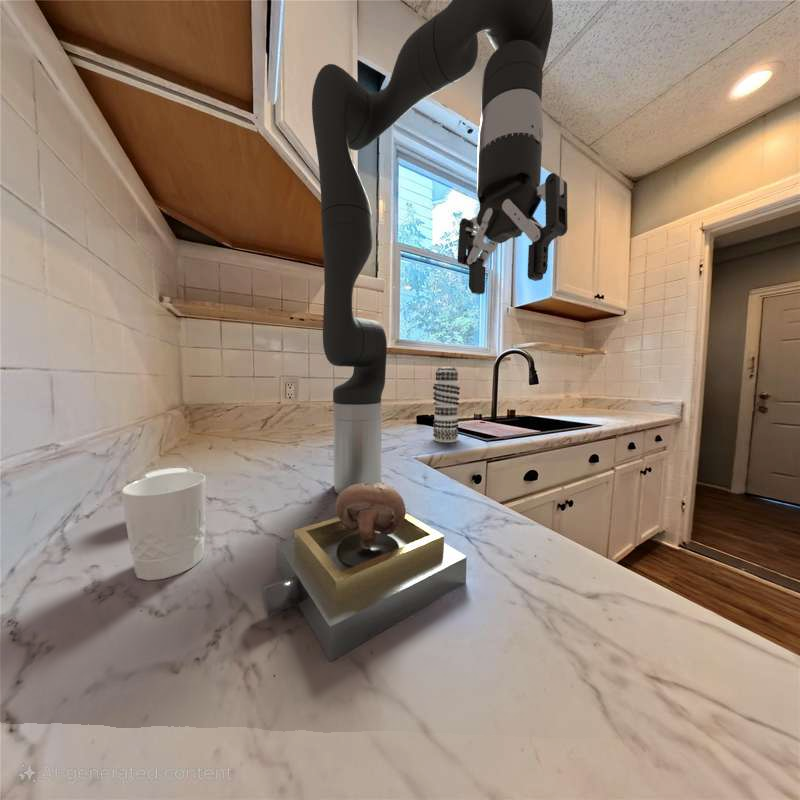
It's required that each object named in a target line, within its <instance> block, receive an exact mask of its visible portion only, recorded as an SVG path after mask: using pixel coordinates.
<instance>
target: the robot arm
mask: <svg viewBox="0 0 800 800" xmlns="http://www.w3.org/2000/svg"><path fill="white" fill-rule="evenodd" d="M553 23H554V9H553V0H451V2H450V3H449V4H448V5H447V6H446V7H445V8H444V9H443V10H441V11H440V12H437V14H435V15H434V16H433V17H432V18H430V19H429V20H427V21H426V22H425V23H424V24H422V25H421V26H420V27H418V28H417V29H416V30H414V31H413V33H411V34H410V35H409V37H408V38H407V39H406V40H405V42H404V43H403V45H402V47H401V49H400V51H399V53H398V55H397V57H396V61H395V63H394V66H393V70H392V73H391V76H390V78H389V82H388V84H387V85H386V87H384V88H383V89H382V90H380V91H378V92H373V93H369V91H368V90H367V89H366V88H365V87H364V86H363V85H362V84H361V83H360V82H359V81H357V80H356V79H355V77H353V76H352V75H350V74H349V72H347V71H346V70H345V69H344V68H342V67H340V66H339V65H337V64H335V63H334V64H333V63H327V64H325V65H323V66H322V68H320V70H319V71H318V73H317V76H316V78H315V80H314V84H313V89H312V94H311V95H312V96H311V115H312V117H311V118H312V124H313V133H314V138H315V139H314V140H315V147H316V152H317V153H316V154H317V155H316V156H317V160H318V161H317V162H318V173H319V185H320V186H319V187H320V211H321V212H320V218H321V219H320V221H321V239H322V248H323V251H322V252H323V273H324V274H323V275H324V281H323V282H324V285H323V286H324V292H323V295H324V296H323V312H322V313H323V316H322V344H323V350H324V355H325V358H326V359H327V361H328V362H329V363H330V364H331V365H333V366H335V367H349V368H351V367H352V368H353V372H352V375H351V377H349V379H348V380H347V381H345V382H343V383H341V384H339V385H337V386H335V387H334V388H333V391H332V410H333V411H332V414H333V415H332V416H333V420H332V421H333V423H332V424H333V442H332V443H333V487H334V492H335V493H336V494H338V495H339V494H340V493H341V492H342V491H343V490H345V489H346V488H348V487H349V486H351V485H355V484H360V483H382V396H383V395H382V394H383V392H384V389H385V384H386V372H387V371H386V370H387V369H386V368H387V355H388V354H387V351H388V349H387V348H388V344H387V343H388V341H387V337H386V332H385V329H384V327H383V326H382V324H381V323H380V322H379V321H377V320H374V319H370V318H363V317H357V316H354V315H353V314H354V313H353V312H354V311H353V293H354V287H355V284H356V281H357V279H358V277H359V275H360V273H362V272H361V271H362V270H363V269H364V267H365V265H366V263H367V262H368V259H369V257H370V255H371V252H372V249H373V218H372V217H373V215H372V208H371V204H370V201H369V198H368V194H367V192H366V190H365V187H364V185H363V182H362V180H361V178H360V175H359V173H358V171H357V168H356V166H355V163H354V161H353V159H352V154H351V152H350V150H353V151H359V150H363V149H364V148H366V147H368V146H369V145H370V144H372V143H373V142H374V141H375V140H376V139H377V138H379V137H380V136H381V135H382V134H383V133H385V132H386V131H388V129H390V128H391V127H392V126H393V125H394V124H395V123H396V122H397V121H398V120H400V119H401V118H402V117H403V116H404V115H405V114H407V112H409V111H410V110H411V109H412V108H414V107H415V106H417V105H418V104H419V103H421V102H423V101H424V100H425V99H427V98H428V97H430V96H432V95H434V94H435V93H438V92H439V91H441V90H443V89H445V88H447V87H448V86H450V85H452V84H454V83H455V82H457V81H459V80H461V79H462V78H464V77H466V76H467V75H468V74H469V73H470V72H471V71H472V70H473V68H474V67H475V64H476V62H477V59H478V52H479V40H478V38H479V37H478V34H480V33H481V32H484V33H485V34H486V37H487V38H488V39H489V42H490V43H491V45H492V47H493V49H494V52H493V53H492V55H491V56H490V57H489V58H488V61H487V63H486V66H485V68H484V70H483V75H482V82H481V95H480V96H481V98H480V99H481V102H480V103H481V104H480V105H481V106H480V125H479V130H478V131H479V132H478V138H477V139H478V141H477V145H478V146H477V174H476V175H477V177H476V196H477V198H478V202H479V209H478V212H477V215H476V216H475V217H473V218H471V219H467V218H465V217H463V218H462V219H461V220H460V222H459V230H458V231H459V232H458V233H459V234H458V247H457V248H458V249H457V264H460V265H464V266H468V288H469V290H470V293H472V294H475V295H483V294H485V291H486V266H485V265H486V263H487V261H488V259H489V257H490V256H491V254H493V253H494V252H495V250H496V249H497V247H498V245H499V244H502V243H506V241H508V240H510V239H516V238H518V237H521V236H522V233H524V234H525V235H526V236H527V238H528V239H529V240H530V241H531V242H532V243H531V244H529V245H528V255H527V256H528V257H527V258H528V259H527V277H528V280H532V281H533V282H534V281H535V282H537V281H542V280H543V279H544V274H547V271H548V265H549V264H548V262H549V246H550V245H551V243H552V241H553V240H555V239H557V238H558V237H563V236H565V234H567V231H568V183H567V181H565V180H564V179H563V177H561V176H559V175H557V174H556V173H554V172H551V173H549V174H548V175H547V177H545V178H546V179H545V182H543V183H541V177H542V176H541V174H542V173H541V171H542V153H543V152H542V151H543V149H542V148H543V137H544V130H543V127H544V126H543V125H544V124H543V123H544V121H543V112H542V95H543V79H544V78H543V69H544V65H545V62H546V59H547V55H548V52H549V51H548V50H549V46H550V42H551V39H552V33H553V25H554V24H553ZM541 201H543V202H545V225H544V226H543V225H542V224H541V223H540V222H539V221H538V220H537V219H536V218H535V217H534V215H535V213H536V211H537V209H538V207H539V205H540V203H541ZM486 238H487V239H488V240H489V241H488V242H485V241H484V240H485V239H486Z"/></svg>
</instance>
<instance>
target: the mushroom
mask: <svg viewBox="0 0 800 800" xmlns="http://www.w3.org/2000/svg"><path fill="white" fill-rule="evenodd" d="M405 505H406V503H405V502H404V499H403V497H402V496H401V494H400V493H399V492H398V491H397V490H396V489H395V488H394V487H392V486H390V485H389V484H384V483H382V482H381V483H360V484H355V485H351V486H349V487H348V488H346V489H345V490H343V491H342V492H341V493H340V494H338V496H337V498H336V500H335V505H334V507H335V508H334V509H335V510H334V511H335V512H336V516H338V518H339V519H340V520H341V523H342V525H343V526H344V527H346V528H347V529H349V530H352V531H355V530H357V529H359V536H360V540H361V541H360V543H361V546H362V548H364V549H368V550H369V549H370V547H371V545H372V544H374V542H375V540H376V533H375V530H376V531H378V532H380V533H381V534H384V535H390V534H392V533H394V532H396V531H397V530H398V529H399V528H400V527H401V526H402V524H403V521H404V519H405V516H406V513H407V511H406V506H405Z"/></svg>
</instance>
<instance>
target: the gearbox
mask: <svg viewBox="0 0 800 800" xmlns="http://www.w3.org/2000/svg"><path fill="white" fill-rule="evenodd" d="M375 533H376V540H375V542H374V544H372V545H371V547H370V549H369V550H368V549H364V548H362V546H361V543H360V541H361V540H360V536H359V529H357V530H355V531H352V530H349V529H347V528H346V527H344V526H343V525H342V523H341V520H340V519H339V518H338V516H337V515H330V517H328V518H327V519H326V520H325V521H324V520H323V521H321V522H318V523H314V524H310V525H307V526H303V527H300V528H297V529H294V536H293V537H292V538H289V539H286V540H282V541H280V542H276V543H275V544H276V545H275V546H276V569H277V570H278V572H279V574H280V575H281V577H282V580H280V581H277V582H274V583H272V584H269V585H267V586H264V587H263V588H262V601H263V602H262V603H263V607H264V610H265V614H266V616H267V617H269V616H272V615H275V614H276V613H280V612H281V611H283V610H287V609H288V608H290V607H292V606H295V605H298V607H299V609H300V611H301V612H302V614H303V616H304V618H305V619H306V621H307V624H308V625H309V626H310V628H311V631H312V632H313V634H314V636H315V638H316V639H317V641H318V643H319V644H320V646H321V648H322V649H323V652H324V653H325V655H326V657H327V659H328V661H329V662H330V663H331V662H333V661H335V660H336V659H338V658H340V657H341V656H343V655H345V654H347V653H349V652H350V651H352V650H353V649H355V648H357V647H358V646H360V645H362V644H364V643H365V642H368V641H369V640H371V639H372V638H375V637H376V636H377V635H379V634H381V633H382V632H383V631H386V630H388V629H390V628H391V627H392V626H394V625H396V624H397V623H400V622H401V621H403V620H405V619H406V618H408V617H410V616H411V615H413V614H415V613H417V612H418V611H420V610H421V609H423V608H425V607H428V606H429V605H431V603H434V602H436V601H438V600H439V599H440V598H442V597H444V596H446V595H447V594H449V593H451V592H453V591H454V590H456V589H457V588H459V587H461V586H462V585H465V584H466V583H467V561H468V560H467V558H468V557H467V556H466V555H465V554H463V553H461V552H460V551H458V550H456V549H455V548H453V547H452V546H450V545H449V544H447V543H446V542H445V535H443V534H442V533H440V532H439V531H438V530H435V529H433V528H432V527H430V526H428V525H427V524H425V523H424V522H423V521H420V520H419V519H416V518H415V517H413V516H411V515H410V514H408V513H407V512H406V516H405V519H404V521H403V524H402V526H401V527H400V528H399V529H398V530H397V531H396V532H394V533H392V534H390V535H384V534H381V533H380V532H378V531H376V530H375Z"/></svg>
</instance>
